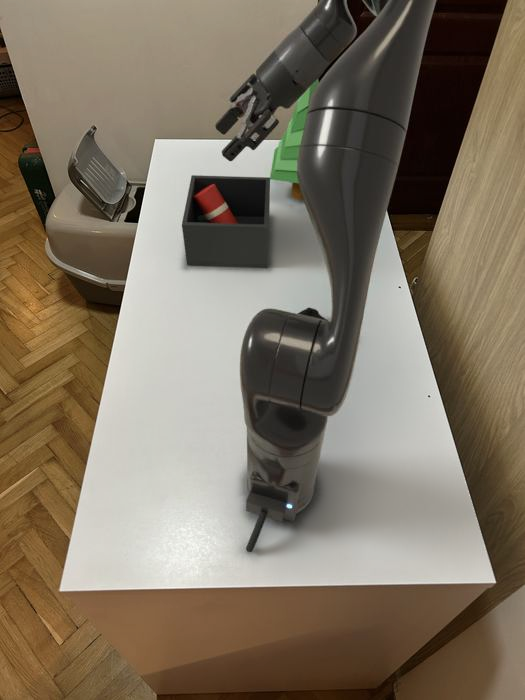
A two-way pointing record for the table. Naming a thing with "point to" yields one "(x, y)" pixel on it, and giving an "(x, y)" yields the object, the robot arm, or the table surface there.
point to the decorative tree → (292, 145)
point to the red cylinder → (214, 206)
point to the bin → (224, 238)
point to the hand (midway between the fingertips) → (222, 143)
